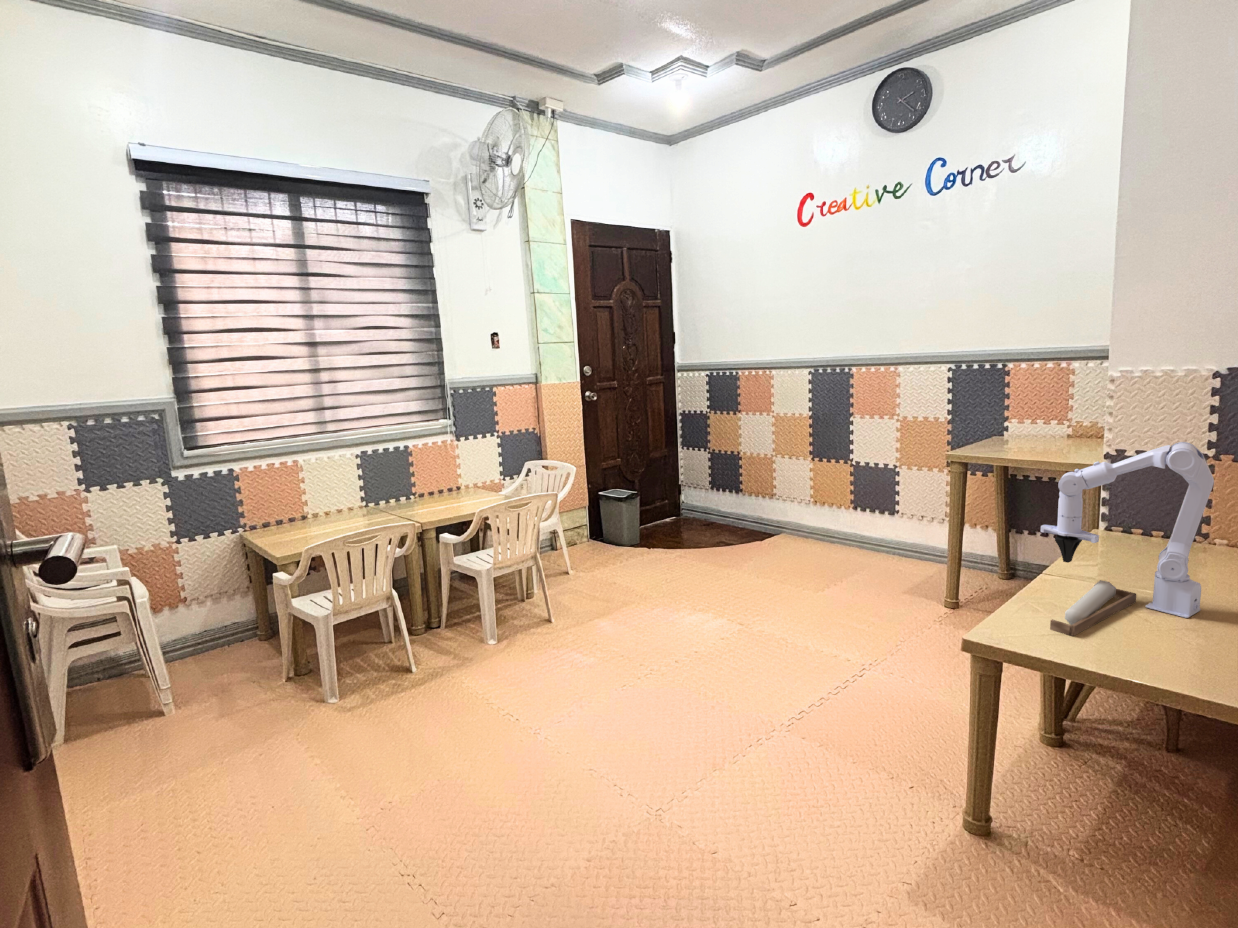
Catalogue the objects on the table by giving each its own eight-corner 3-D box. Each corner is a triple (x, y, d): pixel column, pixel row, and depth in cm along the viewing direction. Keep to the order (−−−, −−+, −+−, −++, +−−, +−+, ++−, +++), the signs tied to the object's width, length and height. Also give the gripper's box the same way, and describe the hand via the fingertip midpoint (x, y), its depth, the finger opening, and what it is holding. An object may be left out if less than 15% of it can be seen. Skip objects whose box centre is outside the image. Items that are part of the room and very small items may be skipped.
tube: (1088, 616, 178) (1119, 586, 193) (1065, 605, 181) (1098, 576, 197) (1079, 633, 180) (1111, 602, 196) (1057, 621, 184) (1090, 592, 199)
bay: (1135, 602, 192) (1136, 593, 192) (1072, 636, 176) (1073, 626, 175) (1113, 596, 197) (1114, 587, 196) (1050, 629, 181) (1050, 620, 180)
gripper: (1035, 513, 201) (1033, 558, 204) (1090, 523, 189) (1087, 571, 192) (1048, 508, 205) (1046, 552, 207) (1103, 517, 193) (1100, 565, 195)
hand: (1067, 561), depth 200 cm, fingers closed
